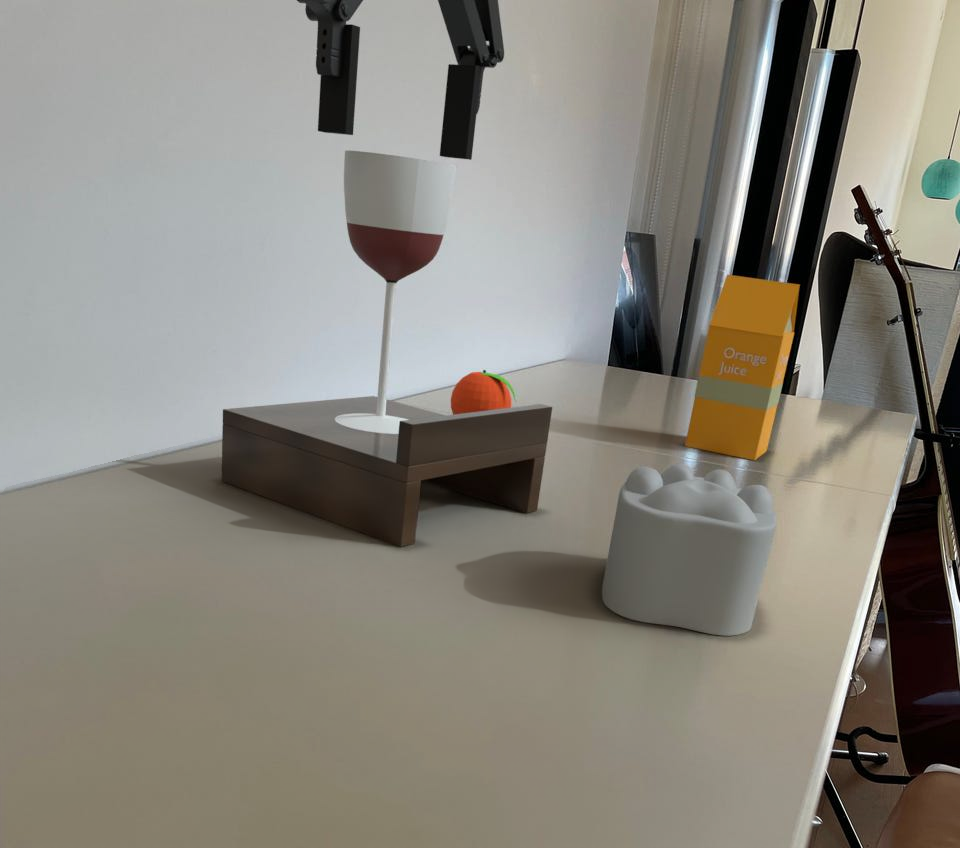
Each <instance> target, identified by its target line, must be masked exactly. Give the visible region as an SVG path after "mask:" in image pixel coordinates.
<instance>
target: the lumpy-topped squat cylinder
mask: <svg viewBox="0 0 960 848" xmlns="http://www.w3.org/2000/svg"><path fill="white" fill-rule="evenodd" d="M614 515H615V516H614V520H613V527H612V531H611V536H610V537H611V538H610V543H609V548H608V555H607V559H606V565H605V570H604V576H603V581H602V588H601V593H602V602H603V603H604V605H605V606H606V607H607V608H608V609H609V610H610V611H612V612H613V613H615V614H616V615H619V616H621V617H624V618H626V619H629V620H632V621H636V622H641V623H647V624H655V625H662V626H663V625H664V626H671V627H678V628H681V629H686V630H691V631H696V632H700V633H705V634H710V635H715V636H723V637H726V636H727V637H729V636H731V637H732V636H739V635H742V634H745V633H747V632H749V631H750V630H751V628H752V626H753V621H754V617H755V614H756V609H757V605H758V602H759V598H760V593H761V589H762V585H763V582H764V577H765V573H766V569H767V565H768V561H769V556H770V553H771V549H772V544H773V540H774V537H775V532H776V528H777V515H776V512H775V511H774V499H773V494H772V493H771V492H770V490H769V489H768V488H767V487H766V486H764V485H761V484H752V485H747V486H745V487H743V488H739V487H737V486H736V483H735V480H734V478H733V476H732V474H731V473H730V472H729V471H727V470H724V469H714V470H712V471H709V472H708V473H707V474H706V476H704V477H701V476H694V471H693V470H692V468H691V467H690V466H689V465H687V464H685V463H674V464H672V465H670V466H669V467H667V468H666V469H665V470H664V471H663V472H662V473H659V472H658V470H656V469H655V468H653V467H650V466H638V467H635V468H634V469H633V470H632V471H630V473H629V474H628V476H627V479H626V481H624V482H623V484H622V485H621V487H620V489H619V493H618V498H617V504H616V510H615V514H614Z"/></svg>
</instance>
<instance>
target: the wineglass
mask: <svg viewBox="0 0 960 848" xmlns="http://www.w3.org/2000/svg"><path fill="white" fill-rule="evenodd" d="M343 160H344V161H343V162H344V163H343V195H344V209H345V211H344V212H345V220H346V221H345V222H346V229H347V235H348V239H349V243H350V246H351V247H352V250H353V252H354V253H355V255H356V256H357V257H358V258H359V259H360V260H361V261H362V262H363V264H365V265H366V266H367V267H369V268H370V269H371V270H373V271H374V272H375V273H377V274H378V275H379V276H380V277H382V278H383V279H384V281H385V282H386V284H385V295H384V296H385V297H384V309H383V322H382V334H381V345H380V346H381V347H380V359H379V371H378V383H377V384H378V385H377V396H376V397H377V410H376V414H343V415H340V416H337V417H336V418H335V421H336V422H337V423H339V424H341V425H343V426H346V427H350V428H353V429H358V430H363V431H368V432H376V433H387V434H399V423H400V421H404V420H408V419H404V418H399V417H394V416H388V415H385V412H386V400H388V399H387V397H388V386H389V374H390V362H391V361H390V360H391V349H392V337H393V327H394V326H393V325H394V313H395V301H396V289H397V288H396V287H397V283H398V282H399V281H401V280H403V279H405V278H406V277H408V276H411V275H412V274H414V273H416V272H419V271H420V270H422V269H423V268H425V267H426V266H428V265H429V264H430V263H431V262H432V261H433V260H434V258H435V257H436V256H437V255H438V252H439V250H440V248H441V245H442V242H443V239H444V235H445V232H446V228H447V225H448V220H449V217H450V212H451V207H452V202H453V201H452V200H453V194H454V189H455V181H456V173H457V166H456V165H454V164H449V163H445V162H439V161H433V160H427V159H421V158H415V157H408V156H401V155H394V154H385V153H380V152H379V153H378V152H369V151H360V150H344V159H343Z"/></svg>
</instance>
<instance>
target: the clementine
mask: <svg viewBox="0 0 960 848" xmlns="http://www.w3.org/2000/svg"><path fill="white" fill-rule="evenodd" d="M511 393H512V395H513V398H514V401H515V402H517V399H516V392H515V391H514V389H513V386H512V385H511V384H510V383H509V382H508V381H507V379H505V378H504V377H502V376H500V375H498V374H495V373H491V372H487V370H486V369H483V370H482V371H473V372H470V373H468V374H467V375H465V376H463V377H461V378H460V379H459V381H458V382H456V384H455V386H454V388H453V389H452V392H451V395H450V409H451V413H452V415H455V414H463V413H471V412H480V411H488V410H496V409H505V408H512V396H511Z"/></svg>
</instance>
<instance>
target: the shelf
mask: <svg viewBox="0 0 960 848" xmlns="http://www.w3.org/2000/svg"><path fill="white" fill-rule="evenodd" d="M377 397H378V396H375V395H370V396H369V395H367V396H358V397H347V398H346V397H345V398H333V399H325V400H313V401H301V402H300V401H299V402H289V403H288V402H287V403H279V404H278V403H277V404H267V405H266V404H265V405H255V406H246V407H244V406H243V407H232V408H223V409H222V432H221V433H222V434H221V435H222V436H221V437H222V438H221V439H222V440H221V482H223V483H226V484H229V485H231V486H234V487H237V488H239V489H242V490H245V491H247V492H251V493H252V494H256V495H257V496H258V495H259V496H261V497H264V498H266V499H269V500H272V501H275V502H278V503H280V504H283V505H286V506H288V507H291V508H294V509H297V510H299V511H301V512H305V513H308V514H310V515H313V516H315V517H318V518H321V519H323V520H327V521H328V522H332V523H334V524H336V525H340V526H343V527H345V528H348V529H351V530H352V531H353V530H354V531H356V532H359V533H361V534H364V535H367V536H370V537H372V538H375V539H378V540H380V541H383V542H386V543H389V544H392V545H394V546H397V547H400V548H403V547H406V546H410V545H415V544H416V535H417V526H418V525H417V524H418V516H419V505H420V496H421V495H420V494H421V484H422V481H424V482H427V483H430V484H433V485H436V486H439V487H443V488H446V489H449V490H453V491H454V492H458V493H462V494H465V495H467V496H472V497H474V498H476V499H477V498H478V499H481V500H484V501H487V502H490V503H493V504H497V505H499V506H502V507H506V508H509V509H513V510H516V511H519V512H522V513H524V514H530V513H533V512H537V511H538V507H539V502H540V501H539V500H540V494H541V488H542V481H543V474H544V468H545V467H544V465H545V459H546V452H547V446H548V440H549V432H550V428H551V427H550V426H551V420H552V413H553V406H550V405H547V404H542V403H538V404H530V405H522V406H514V407H513V406H512V407H511V408H505V409H496V410H488V411H480V412H471V413H463V414H455V415H453V414H447V415H446V414H442V413H439V412H435V411H432V410H427V409H424V408H420V407H417V406H416V407H415V406H414V405H413V406H412V405H408V404H404V403H401V402H397V401H394V400H391V399H387V400H386V412H385V415H388V416H394V417H399V418H404V419H408V420H404V421H400V423H399V434H387V433H376V432H368V431H363V430H358V429H353V428H350V427H346V426H343V425H341V424H339V423H337V422H336V421H335V418H336V417H337V416H340V415H343V414H376V410H377Z"/></svg>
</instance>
